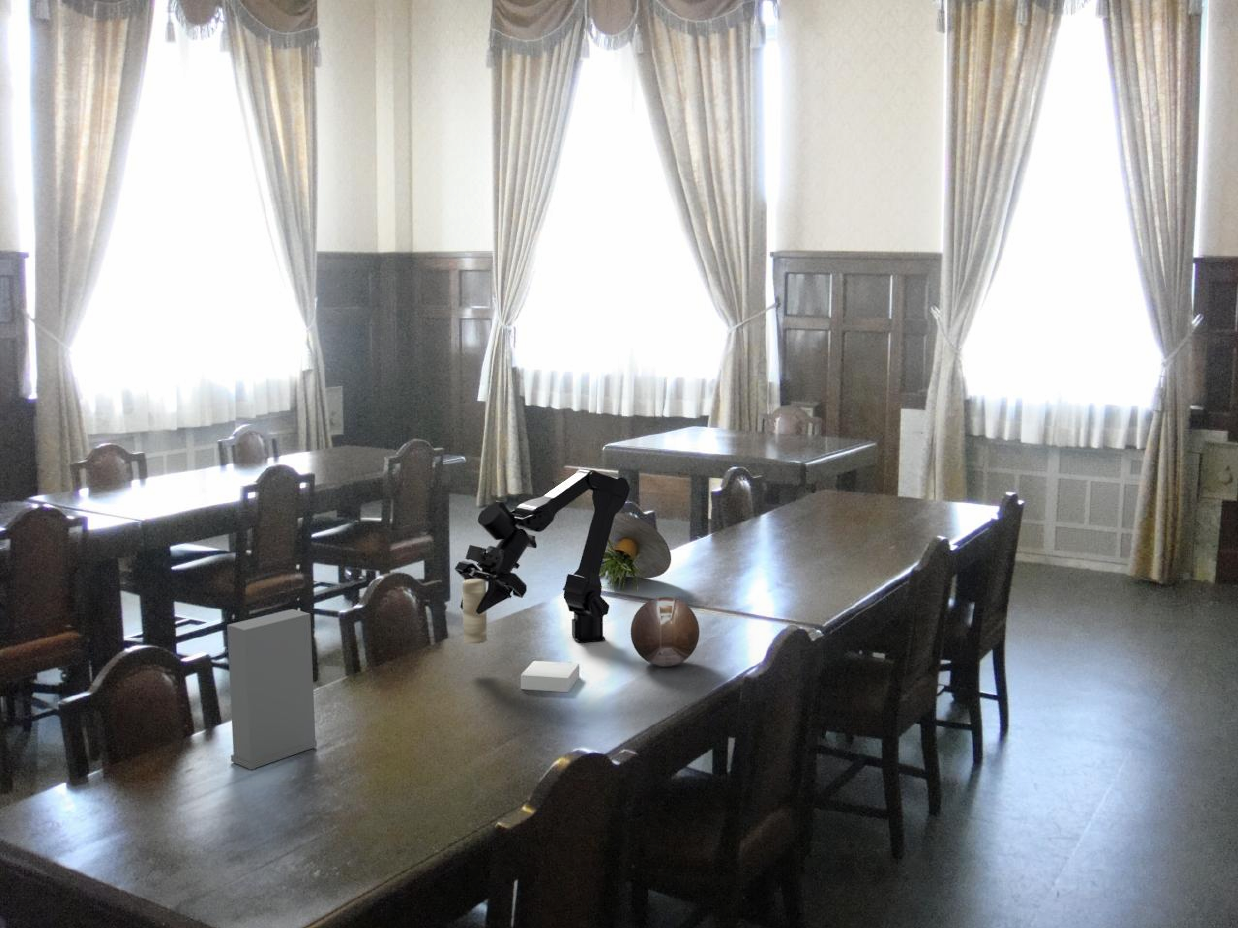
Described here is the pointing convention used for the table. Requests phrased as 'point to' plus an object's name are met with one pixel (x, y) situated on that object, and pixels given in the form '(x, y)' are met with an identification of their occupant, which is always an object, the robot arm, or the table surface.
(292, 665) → the upright grey box
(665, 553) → the potted plant
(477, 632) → the birch column
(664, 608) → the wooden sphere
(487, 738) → the table surface
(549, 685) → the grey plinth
